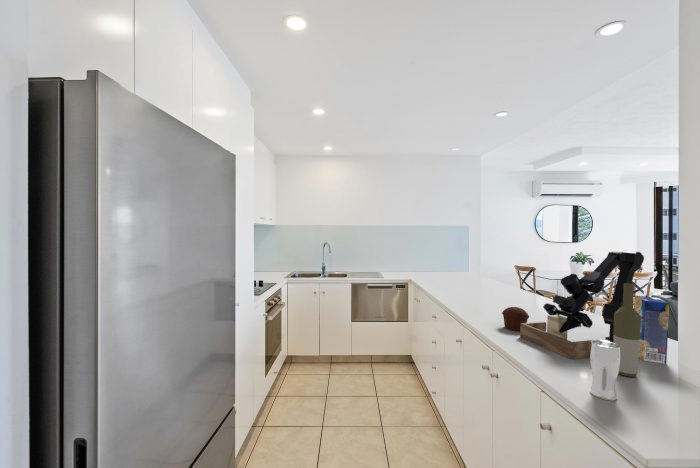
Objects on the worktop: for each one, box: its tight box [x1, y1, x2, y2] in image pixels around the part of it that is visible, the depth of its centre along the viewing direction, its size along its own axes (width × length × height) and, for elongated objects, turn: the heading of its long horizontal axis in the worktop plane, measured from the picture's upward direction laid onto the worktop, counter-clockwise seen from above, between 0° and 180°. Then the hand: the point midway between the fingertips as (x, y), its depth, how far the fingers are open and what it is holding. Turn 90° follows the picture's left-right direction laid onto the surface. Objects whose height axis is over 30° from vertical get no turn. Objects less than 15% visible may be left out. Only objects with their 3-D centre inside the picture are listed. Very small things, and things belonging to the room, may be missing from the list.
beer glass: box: [589, 339, 620, 402], centre depth 97 cm, size 7×7×15 cm
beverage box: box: [633, 295, 670, 365], centre depth 127 cm, size 7×11×22 cm, turn 155°
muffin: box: [501, 306, 530, 333], centre depth 159 cm, size 12×11×10 cm
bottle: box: [612, 283, 641, 378], centre depth 111 cm, size 7×7×30 cm
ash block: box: [546, 314, 568, 340], centre depth 137 cm, size 5×5×12 cm
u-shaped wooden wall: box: [519, 321, 593, 360], centre depth 137 cm, size 13×25×6 cm, turn 16°
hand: (554, 330), depth 136 cm, fingers closed on ash block, 5 cm apart
